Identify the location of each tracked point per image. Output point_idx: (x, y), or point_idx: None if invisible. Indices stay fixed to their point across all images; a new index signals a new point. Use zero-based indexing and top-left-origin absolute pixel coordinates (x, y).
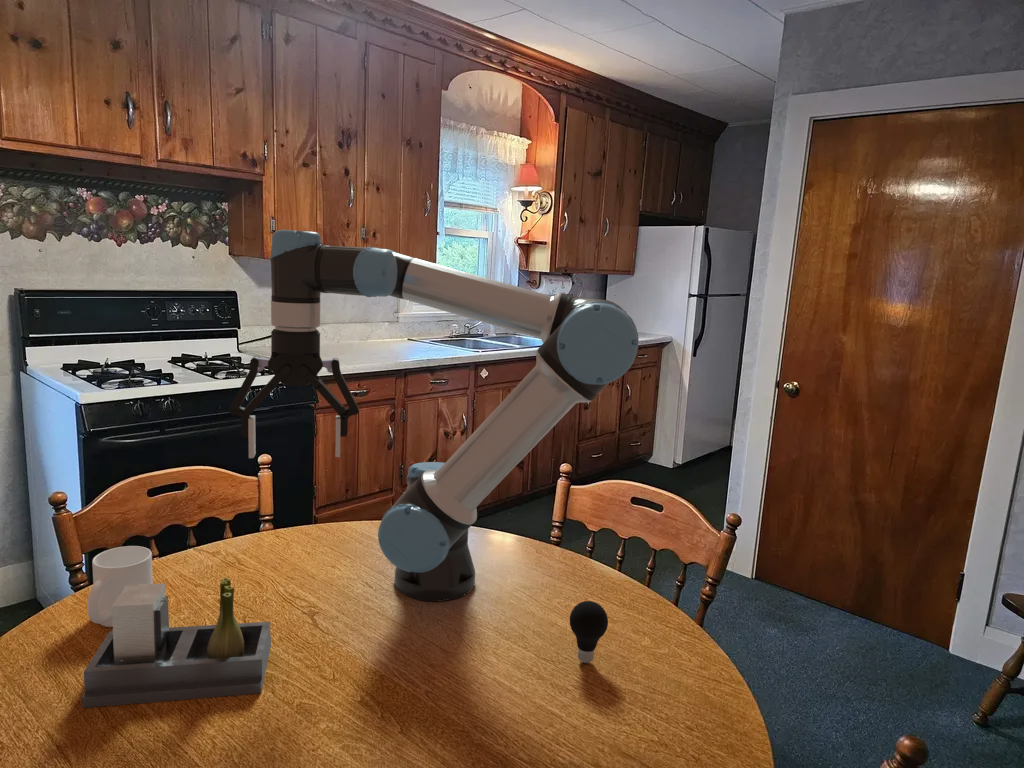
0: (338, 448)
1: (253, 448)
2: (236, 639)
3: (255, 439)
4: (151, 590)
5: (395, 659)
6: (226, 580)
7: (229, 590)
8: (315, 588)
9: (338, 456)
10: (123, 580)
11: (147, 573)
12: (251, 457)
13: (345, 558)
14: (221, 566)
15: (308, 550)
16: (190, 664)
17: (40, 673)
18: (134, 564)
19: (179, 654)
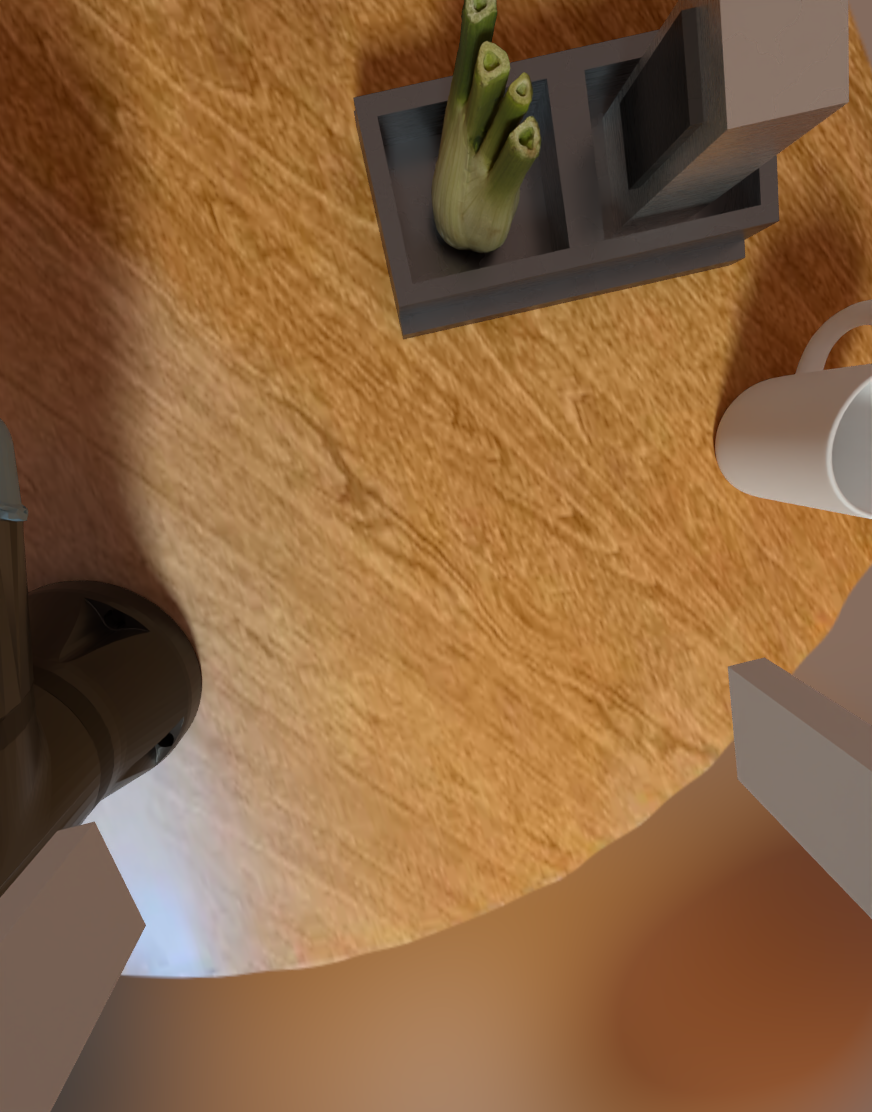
0: (12, 896)
1: (789, 708)
2: (441, 141)
3: (832, 873)
4: (754, 64)
5: (86, 299)
6: (520, 125)
7: (483, 42)
8: (384, 610)
9: (66, 833)
10: (844, 373)
11: (794, 433)
12: (747, 663)
13: (357, 763)
14: (633, 683)
15: (458, 788)
16: (527, 60)
17: (850, 181)
18: (855, 391)
19: (571, 110)
